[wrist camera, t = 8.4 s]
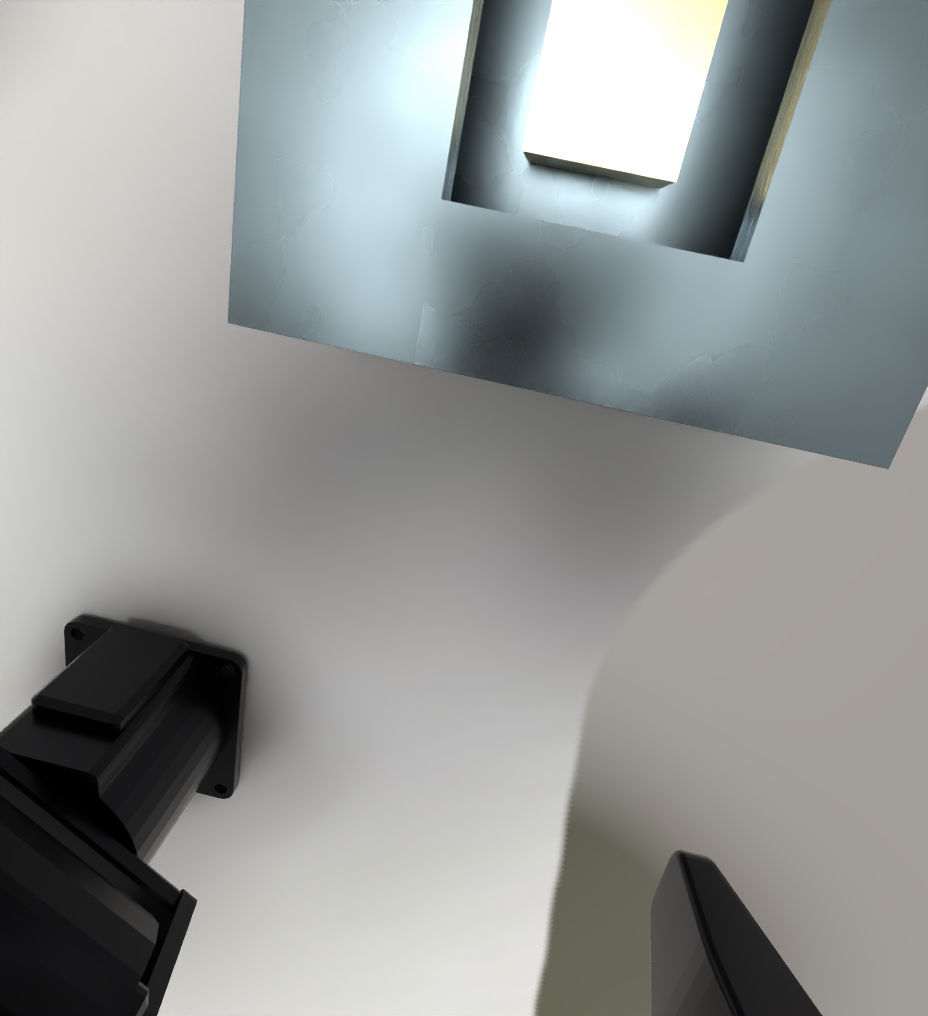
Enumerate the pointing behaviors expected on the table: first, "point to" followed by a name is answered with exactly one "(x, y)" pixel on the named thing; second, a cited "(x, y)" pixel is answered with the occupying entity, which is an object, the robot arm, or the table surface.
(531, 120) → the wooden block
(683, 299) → the box
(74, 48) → the table surface
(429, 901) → the table surface
